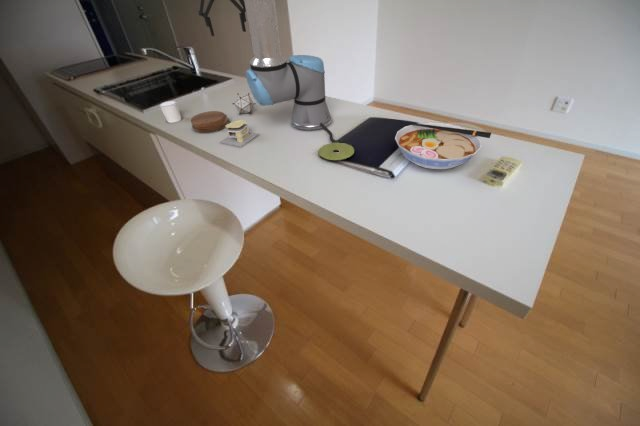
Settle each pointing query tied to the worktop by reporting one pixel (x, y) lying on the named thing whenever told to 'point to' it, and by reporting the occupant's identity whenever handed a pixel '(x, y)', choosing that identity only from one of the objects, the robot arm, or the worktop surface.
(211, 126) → the brown round disc
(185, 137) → the worktop surface
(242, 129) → the stacked layers on plate
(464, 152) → the ramen bowl
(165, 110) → the white cup
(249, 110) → the grey faceted polyhedron
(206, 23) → the robot arm
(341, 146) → the green disc with hole
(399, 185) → the worktop surface
